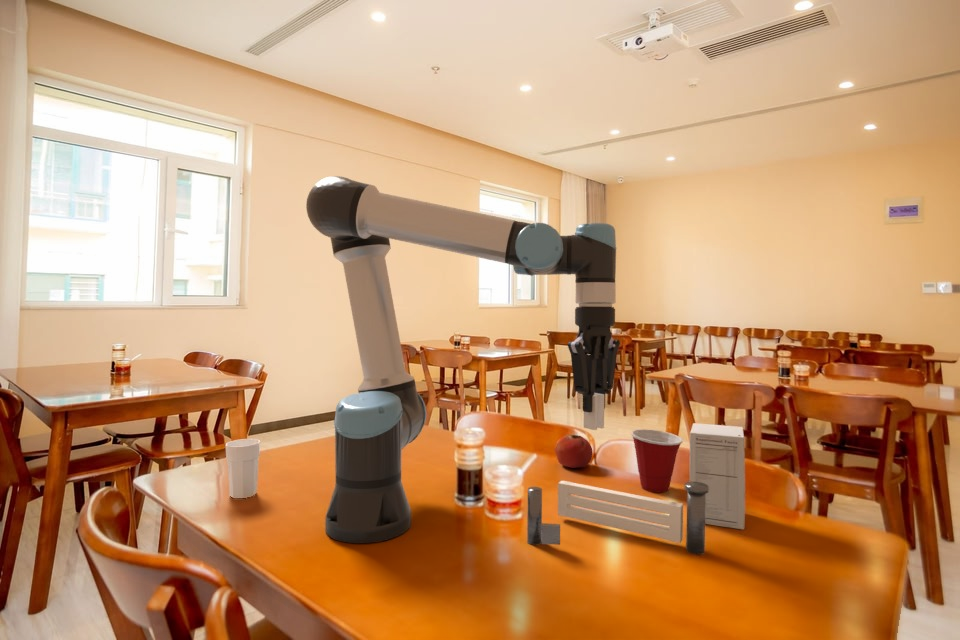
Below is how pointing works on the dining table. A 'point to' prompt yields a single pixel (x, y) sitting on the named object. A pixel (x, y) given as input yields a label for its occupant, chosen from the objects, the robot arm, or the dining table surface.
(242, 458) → the cup
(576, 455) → the tomato
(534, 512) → the post
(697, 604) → the dining table surface
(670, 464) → the plastic cup
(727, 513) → the supplement box
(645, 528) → the gate
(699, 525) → the hinge post
